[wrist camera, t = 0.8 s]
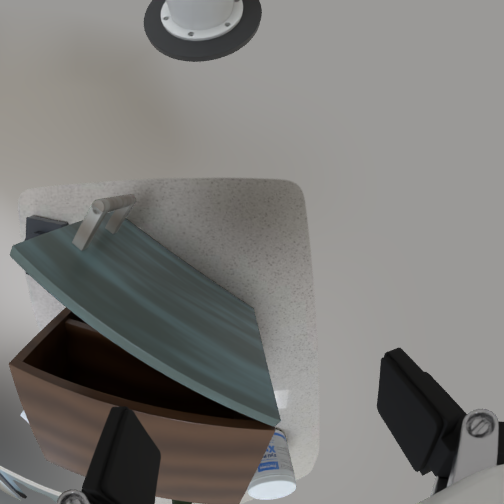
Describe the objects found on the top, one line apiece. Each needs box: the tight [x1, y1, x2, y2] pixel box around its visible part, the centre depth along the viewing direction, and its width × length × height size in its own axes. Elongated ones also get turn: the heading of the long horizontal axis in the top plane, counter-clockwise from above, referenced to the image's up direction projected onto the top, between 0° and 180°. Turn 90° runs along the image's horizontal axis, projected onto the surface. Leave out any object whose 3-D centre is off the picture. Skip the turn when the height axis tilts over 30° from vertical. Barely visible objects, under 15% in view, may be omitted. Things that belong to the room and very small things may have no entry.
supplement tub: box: [247, 429, 296, 500], centre depth 46 cm, size 10×10×15 cm
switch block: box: [25, 216, 68, 275], centre depth 37 cm, size 10×8×4 cm
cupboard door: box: [10, 194, 281, 427], centre depth 30 cm, size 6×26×24 cm, turn 52°
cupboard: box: [9, 307, 275, 504], centre depth 34 cm, size 18×26×24 cm
